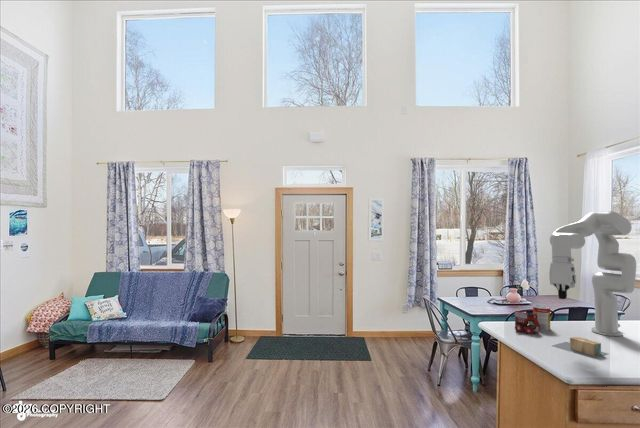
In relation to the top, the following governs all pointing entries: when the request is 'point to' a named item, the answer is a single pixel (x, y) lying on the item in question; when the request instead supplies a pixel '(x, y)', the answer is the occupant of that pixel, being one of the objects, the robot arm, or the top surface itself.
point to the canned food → (542, 316)
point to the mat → (567, 347)
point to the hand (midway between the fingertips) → (562, 298)
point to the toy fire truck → (526, 322)
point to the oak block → (585, 345)
